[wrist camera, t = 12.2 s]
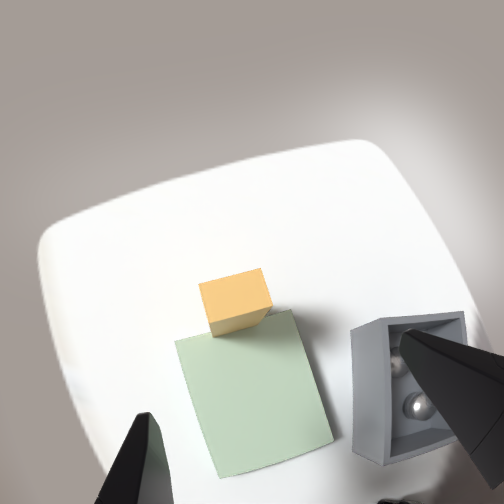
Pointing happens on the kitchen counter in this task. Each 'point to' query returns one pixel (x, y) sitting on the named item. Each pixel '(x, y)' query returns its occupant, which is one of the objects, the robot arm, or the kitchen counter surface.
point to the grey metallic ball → (418, 407)
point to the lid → (251, 379)
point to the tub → (395, 390)
